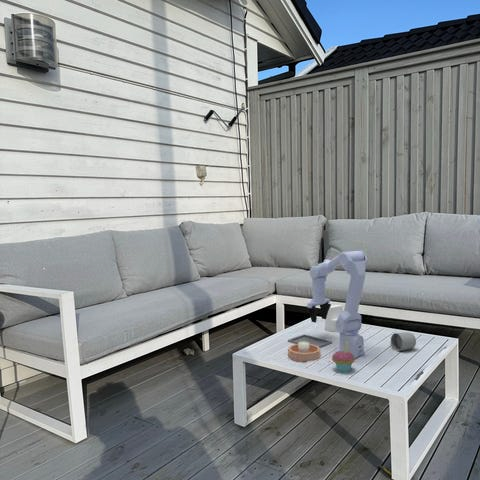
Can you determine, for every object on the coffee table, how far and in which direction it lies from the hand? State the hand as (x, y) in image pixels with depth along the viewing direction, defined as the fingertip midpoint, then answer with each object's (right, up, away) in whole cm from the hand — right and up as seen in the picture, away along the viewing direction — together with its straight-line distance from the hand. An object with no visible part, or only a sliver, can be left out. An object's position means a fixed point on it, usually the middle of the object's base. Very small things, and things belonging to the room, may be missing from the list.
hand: (319, 320), depth 209 cm
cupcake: (+3, -13, -36) cm, 38 cm away
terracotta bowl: (-10, -11, -21) cm, 26 cm away
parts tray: (-5, -10, -4) cm, 12 cm away
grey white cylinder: (+11, -8, +17) cm, 22 cm away
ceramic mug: (+33, -10, -13) cm, 37 cm away
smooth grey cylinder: (-10, -11, -21) cm, 25 cm away
